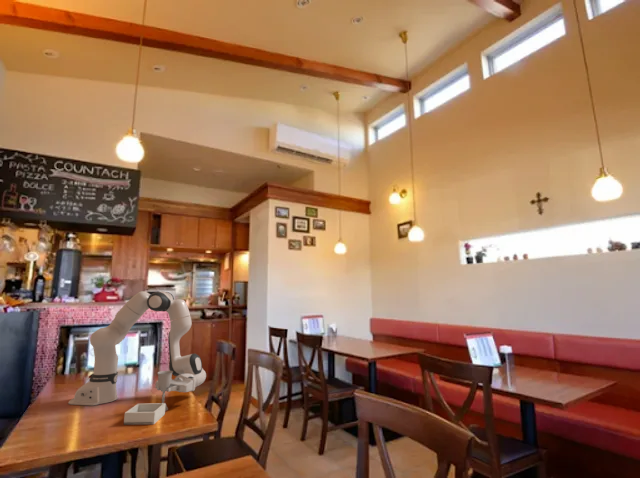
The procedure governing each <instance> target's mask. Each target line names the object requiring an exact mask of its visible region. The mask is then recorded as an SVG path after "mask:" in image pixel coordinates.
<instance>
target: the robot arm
mask: <svg viewBox="0 0 640 478" xmlns="http://www.w3.org/2000/svg"><path fill="white" fill-rule="evenodd" d="M148 310H151V311H153V312H166V313H167V314H168V316H169V321H170V330H169V332H168V334H167V335H168V354H169V363H168V364H169V365H168V369H169V370H168V371H173V373H172V375H173V376H175V378H174V379H173V378H171V383H170V386H169V387H168V388H167V390H166V391H165V392H168V393H170V392H179V393H188V392H194V391H195V389H196V387H198V386H200V385H202V384H203V383H204V382H205V381H206V378H207V373H206V371H205V370H204V368H203V362H202V359H201V356H200V355H199V354H197V353H191V354H187V355H183V356H182V355H181V350H180V349H181V348H180V340H181V338H182V337H183V336H184V335H185V334H187V333H188V332H189V331H190V329H191V327H192V325H193V323H192V322H193V321H192V317H191V314H190V313H191V312H190V310H189V307H188V305H187V302H186V301H185V299H182V298H176V299H175V296H174V295H173V293H171V292H168V291H165V290H164V291H163V290H161V291H155V292H153V293H149V292H148V291H144V290H143V291H138V292H137V293H136V294H134V295H133V296H132V297H131V298H129V299H128V301H126V303H124V305H123V306H122V307H121V308H120V309H119V310H118V311H117V312H116V313H115V316H114V318H113V320H112V321H111V323H110V324H109V325H108V326H104V327H100V328H98V329H96V330H95V331H94V332H93V333H92V334H91V335H90V338H89V342H90V345H91V346H92V348H93V355H94V363H93V364H94V365H93V373H91V374H90V375H88V376H87V379H89V380H88V381H87V382H86V383H85V384H82V386H80V387H78V389H77V390H76V392H75V394H74V396H73V397H74V398H72V399H70V400H69V401H68V403H67V404H68V405H73V406H74V405H76V406H77V405H78V406H98V405H101V404H108V403H111V402H114V401H117V400H118V399H119V398H118V394H117V393H118V392H117V382H118V376H119V375H118V373H119V372H118V363H119V356H118V354H117V349H116V345H119V344H121V343H122V341H124V339H125V338H126V336H127V335H128V333H129V332H130V330H131V328H132V327H133V326H134V325H135V324H137V322H138V320H140V319H141V317H142V316H143V315H144V314H145V312H147V311H148ZM155 389H156V391H161V390H160V388H159V385H158V380H156V381H155Z"/></svg>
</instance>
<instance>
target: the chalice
mask: <svg viewBox="0 0 640 478" xmlns="http://www.w3.org/2000/svg"><path fill="white" fill-rule="evenodd" d="M172 373H173V371H170V370H161V371H158V372H157V375H158V376H157V381H158V385H159V388H160V390H159V391H160V392H162V395H161V403H165V401H166V398H165V397H166V392H167V391H166V390H167V388H168V387H169V386H170V383H171V379H173V378H172V377H173V376H172V375H173V374H172ZM168 410H169V408H168V406H167V404H166V405H165V412H166V411H168Z"/></svg>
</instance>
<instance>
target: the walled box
mask: <svg viewBox="0 0 640 478" xmlns="http://www.w3.org/2000/svg"><path fill="white" fill-rule="evenodd" d="M165 405H167V404H166V402H164V403H162V402H161V403H160V402H159V403H158V402H157V403H155V402H154V403H137V404H135V405H134V406H132V407H130V408H129V409H128V410H127V411H125V412H124V415H123V416H124V419H123V425H124V426H128V425H129V426H130V425H132V426H133V425H134V426H135V425H139V426H140V425H155V424H156V423H157V422H158V421H160V420H161V418H162V417H164V416H165V413H166V411H165Z"/></svg>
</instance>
